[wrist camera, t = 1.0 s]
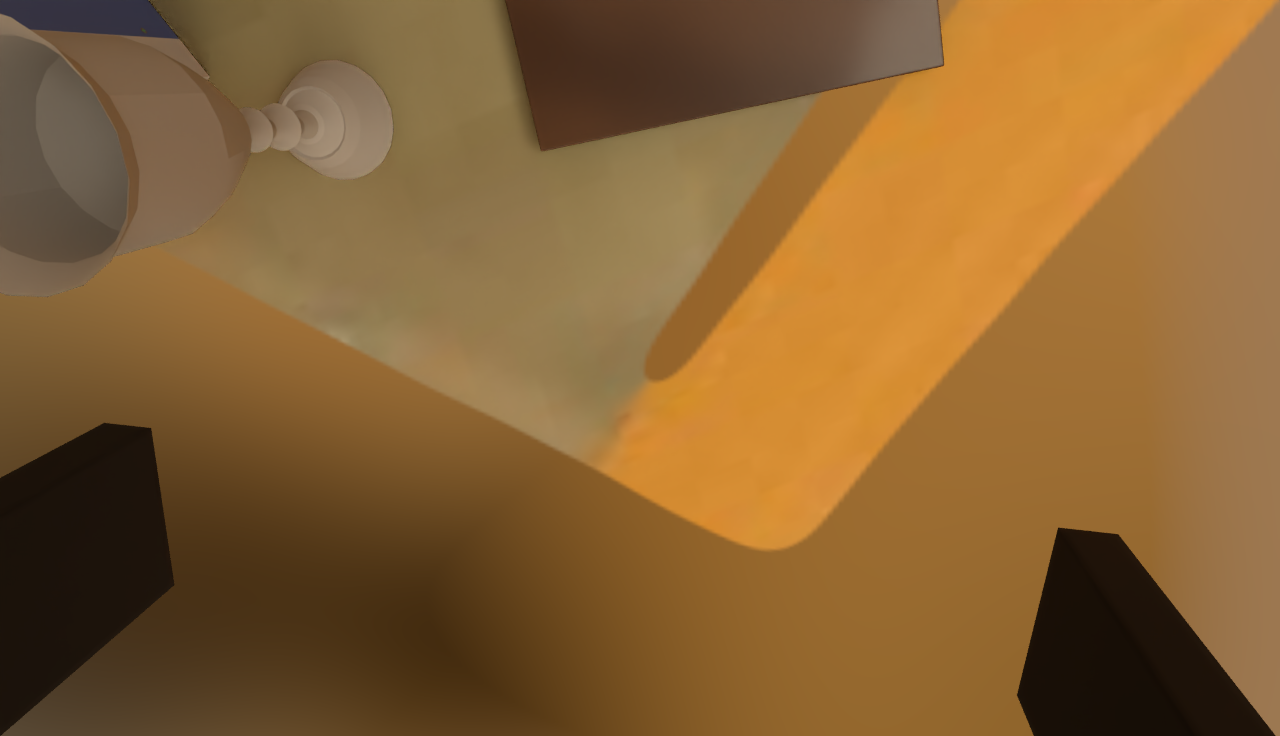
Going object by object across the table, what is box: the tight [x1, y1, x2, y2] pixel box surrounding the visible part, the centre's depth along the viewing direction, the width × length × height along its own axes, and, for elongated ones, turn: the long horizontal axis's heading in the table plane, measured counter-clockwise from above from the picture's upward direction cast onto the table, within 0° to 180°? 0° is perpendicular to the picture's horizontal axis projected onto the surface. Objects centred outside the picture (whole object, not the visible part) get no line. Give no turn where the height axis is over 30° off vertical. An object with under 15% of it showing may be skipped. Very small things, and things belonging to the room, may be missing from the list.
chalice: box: [0, 14, 394, 297], centre depth 29 cm, size 7×7×18 cm
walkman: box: [0, 0, 209, 80], centre depth 31 cm, size 8×3×12 cm, turn 37°
